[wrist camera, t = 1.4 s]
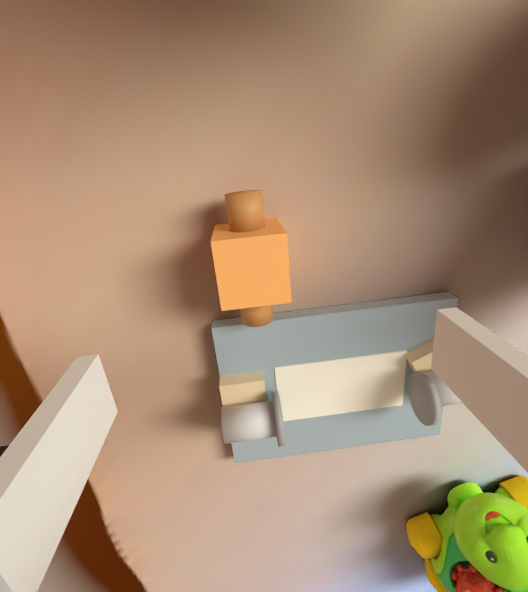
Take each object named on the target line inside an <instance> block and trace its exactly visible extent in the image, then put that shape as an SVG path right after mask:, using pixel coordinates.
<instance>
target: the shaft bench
mask: <svg viewBox="0 0 528 592" xmlns="http://www.w3.org/2000/svg"><path fill="white" fill-rule="evenodd" d="M457 304H458V297H456V296H455V295H453V294H451V293H450V292H442V293H434V294H425V295H417V296H409V297H401V298H393V299H385V300H376V301H368V302H360V303H352V304H344V305H336V306H327V307H319V308H311V309H303V310H295V311H286V312H278V313H273V321H272V322H271V323H269V324H267V325H265V326H261V327H248V326H245V325H243V324H242V321H241V317H237V318H229V319H221V320H213V321H212V327H211V329H212V335H213V340H214V346H215V352H216V358H217V363H218V369H219V375H220V380H219V389H220V394H221V400H222V405H223V407H222V408H221V426H222V435H223V441H224V444H228V443H231V444H232V450H233V456H234V461H235V463H242V462H249V461H256V460H263V459H270V458H277V457H284V456H291V455H298V454H305V453H313V452H320V451H327V450H334V449H341V448H348V447H355V446H362V445H369V444H376V443H384V442H391V441H398V440H405V439H412V438H419V437H426V436H433V435H439V434H440V426H441V419H442V412H443V406H445V405H453V404H460V403H463V402H462V401H461V400H460V399H459V398H458V397H457V396H456V395H455V394H454V393H453V392H452V391H451V390H450V388H449V387H448V386H447V385H446V384H445V383H444V382H443V381H442V380H441V379H440V378H439V377H438V376H437V374H436V373H435V372H434V371H433V370H432V369H431V362H432V353H433V344H434V335H435V325H436V316H437V310H438V309H446V308H454V307H457Z"/></svg>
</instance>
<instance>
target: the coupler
mask: <svg viewBox="0 0 528 592" xmlns="http://www.w3.org/2000/svg"><path fill="white" fill-rule="evenodd" d="M225 201H226V208H227V216H228V223H224V224H215V226H214V230H213V234H212V238H211V248H212V254H213V260H214V267H215V273H216V279H217V286H218V292H219V299H220V305H221V311H227V310H235V309H240V313H241V321H242V324H243V325H245V326H248V327H261V326H265V325H267V324H269V323H271V322H272V321H273V310H272V305H276V304H284V303H292V300H291V286H290V271H289V256H288V242H287V232H286V231H285V230H284V228H283V227H282V225H281V224H280V223H279V221H278V220H277V218H270V219H264V213H263V202H262V192H261V191H260V190H251V191H240V192H233V193H228V194H225Z"/></svg>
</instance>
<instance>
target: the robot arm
mask: <svg viewBox="0 0 528 592" xmlns="http://www.w3.org/2000/svg"><path fill="white" fill-rule="evenodd" d="M431 369H432V370H433V371H434V372H435V373H436V374H437V376H438V377H439V378H440V379H441V380H442V381H443V382H444V383H445V384H446V385H447V386H448V387H449V388H450V390H451V391H452V392H453V393H454V394H455V395H456V396H457V397H458V398H459V399H460V400H461V401H462V402H463V404H464V405H465V406H466V407H467V408H468V409H469V410H470V411H471V412H472V413H473V414H474V415H475V416H476V417H477V419H478V420H479V421H480V422H481V423H482V424H483V425H484V426H485V427H486V428H487V429H488V430H489V431H490V433H491V434H492V435H493V436H494V437H495V438H496V439H497V440H498V441H499V442H500V443H501V444H502V445H503V447H504V448H505V449H506V450H507V451H508V452H509V453H510V454H511V455H512V456H513V457H514V458H515V459H516V460H517V462H518V463H519V464H520V465H521V466H522V467H523V468H524V469H525V470H526V471H527V472H528V356H527V355H526V354H524V353H523V352H521V351H520V350H518V349H517V348H515V347H514V346H513V345H511V344H510V343H508V342H507V341H505V340H504V339H502V338H501V337H499V336H498V335H496V334H495V333H493V332H492V331H490V330H489V329H488V328H486V327H485V326H483V325H482V324H480V323H479V322H477V321H476V320H474V319H473V318H471V317H470V316H468V315H467V314H465V313H464V312H462V311H461V310H460V309H458V308H457V307H454V308H446V309H438V310H437V316H436V325H435V335H434V344H433V353H432V362H431ZM117 412H118V411H117V408H116V405H115V402H114V399H113V396H112V393H111V390H110V387H109V384H108V382H107V379H106V376H105V373H104V370H103V367H102V364H101V361H100V358H99V355H98V354H95V355H87V356H80V357H77V358H76V359H75V361H74V362H73V363H72V365H71V366H70V367H69V369H68V370H67V371H66V372H65V374H64V375H63V376H62V378H61V379H60V380H59V382H58V383H57V384H56V385H55V387H54V388H53V389H52V391H51V392H50V393H49V395H48V396H47V397H46V398H45V400H44V401H43V402H42V404H41V405H40V406H39V408H38V409H37V410H36V412H35V413H34V414H33V415H32V417H31V418H30V419H29V421H28V422H27V423H26V424H25V426H24V427H23V428H22V430H21V431H20V432H19V434H18V435H17V436H16V437H15V439H14V440H13V441H12V443H11V444H10V445H8V446H1V447H0V592H37V591H38V589H39V586H40V584H41V582H42V580H43V577H44V575H45V573H46V571H47V568H48V566H49V564H50V562H51V560H52V557H53V555H54V553H55V551H56V548H57V546H58V544H59V541H60V539H61V537H62V535H63V533H64V530H65V528H66V526H67V524H68V521H69V519H70V517H71V515H72V513H73V510H74V508H75V506H76V504H77V502H78V499H79V497H80V495H81V493H82V490H83V488H84V486H85V484H86V481H87V479H88V477H89V475H90V472H91V470H92V468H93V466H94V464H95V461H96V459H97V457H98V455H99V452H100V450H101V448H102V446H103V443H104V441H105V439H106V437H107V435H108V432H109V430H110V428H111V426H112V423H113V421H114V419H115V417H116V414H117Z"/></svg>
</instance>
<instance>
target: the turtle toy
mask: <svg viewBox="0 0 528 592" xmlns="http://www.w3.org/2000/svg"><path fill="white" fill-rule="evenodd" d="M447 499H448V504H449V505H448V508H447V509H446V510H445V511H444V513H443V514H442V515H438V514H432V515H430V514H429V513H428V512H425V513H423V514H420V515H418V516H415V517H413V518H411V519H409V520H408V521H407V523H406V528H407V534H408V538H409V542H410V544H411V546H412V547H413V548H414V549H415V550H416V551H417V553H418V554H419V555H421V557H422V558H424V559H425V561H424V564H425V569H426V571H427V577H428V580H429V581H430V583H431V584H432V585H433V587H434V588H435V589H436V590H437V591H438V592H528V478H526V477H524V476H517V477H514V478H511V479H508V480H506V481H504V482H501V483H499V489H498V490H497V491H496V492H495V493H483V492H482V490H481V488H480V487H479V486H478V485H477V484H475V483H472V482H467V483H463V484H461V485H458V486H456V487H455V488H453V489H452V490H451V491H450V492H449V494H448V498H447Z"/></svg>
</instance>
